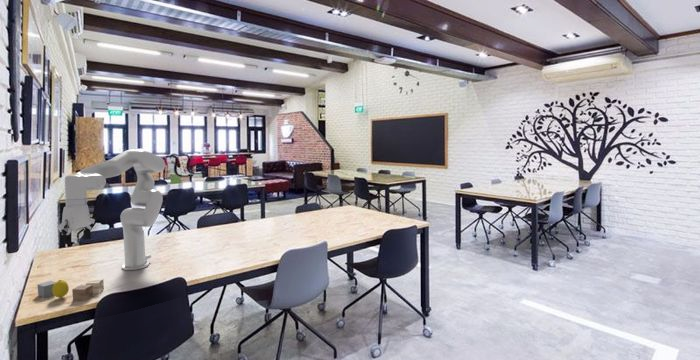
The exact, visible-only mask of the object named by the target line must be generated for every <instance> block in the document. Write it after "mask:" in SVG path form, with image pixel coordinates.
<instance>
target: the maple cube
mask: <svg viewBox="0 0 700 360" xmlns="http://www.w3.org/2000/svg"><path fill="white" fill-rule="evenodd" d="M85 285H93V295H95V294H101V293H102V291H104V290H105V287H104V286H105V285H104V278H92V279H91V278H90V280H88V281H87V282H86V283H85Z"/></svg>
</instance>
